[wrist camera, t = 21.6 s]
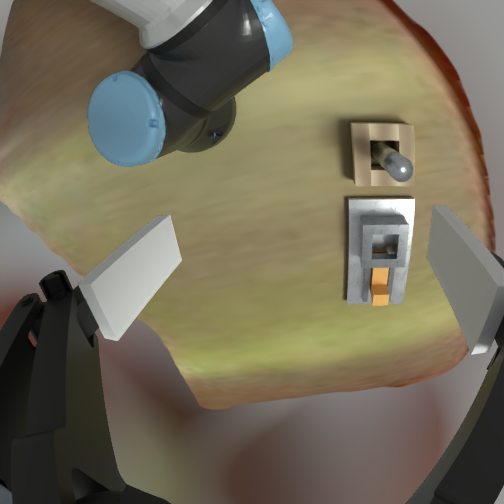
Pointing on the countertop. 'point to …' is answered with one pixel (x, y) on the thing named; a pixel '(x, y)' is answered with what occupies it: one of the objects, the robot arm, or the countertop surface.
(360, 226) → the socket station
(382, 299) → the orange block
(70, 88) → the countertop surface
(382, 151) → the peg
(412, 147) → the light wood square frame
